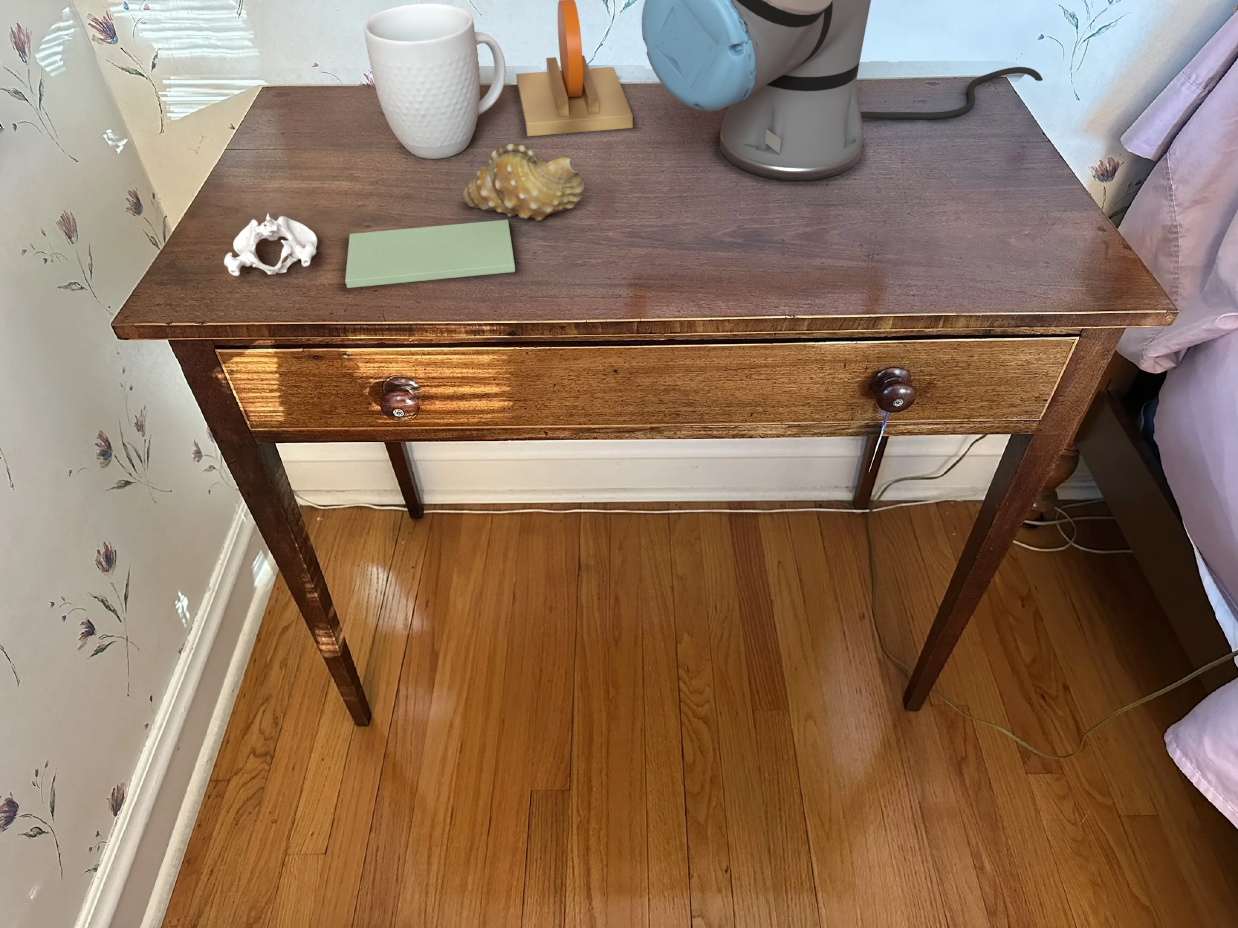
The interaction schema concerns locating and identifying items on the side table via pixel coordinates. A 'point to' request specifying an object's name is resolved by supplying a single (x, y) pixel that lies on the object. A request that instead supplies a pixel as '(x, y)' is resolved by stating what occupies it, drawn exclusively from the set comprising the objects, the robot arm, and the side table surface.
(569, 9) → the disc
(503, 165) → the seashell
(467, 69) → the mug
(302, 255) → the anatomical pelvis
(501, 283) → the side table surface
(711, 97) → the robot arm
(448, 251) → the mat
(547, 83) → the rack
